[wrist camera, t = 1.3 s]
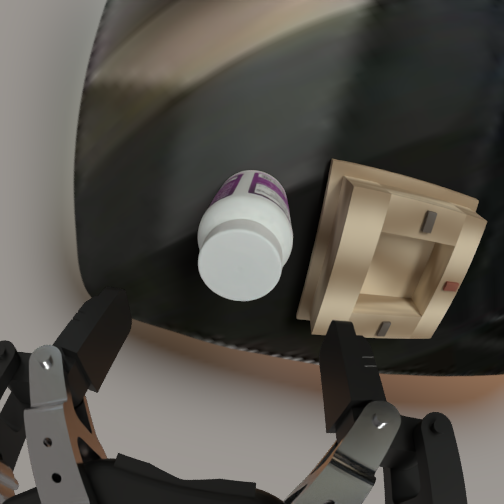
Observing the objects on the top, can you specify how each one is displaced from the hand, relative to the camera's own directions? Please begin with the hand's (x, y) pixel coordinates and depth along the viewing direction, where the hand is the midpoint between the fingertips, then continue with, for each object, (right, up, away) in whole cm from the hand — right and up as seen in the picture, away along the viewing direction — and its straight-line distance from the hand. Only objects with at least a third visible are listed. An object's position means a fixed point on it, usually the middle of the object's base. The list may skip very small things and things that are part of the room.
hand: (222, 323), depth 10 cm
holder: (+14, +2, +12) cm, 19 cm away
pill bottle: (+1, +7, +11) cm, 13 cm away
